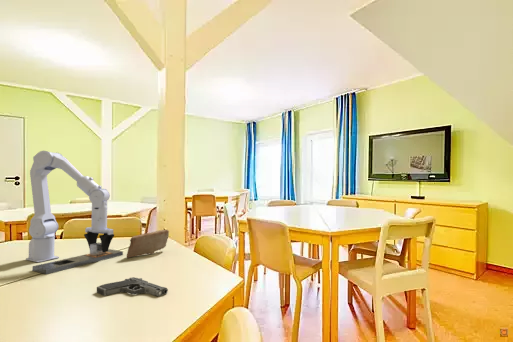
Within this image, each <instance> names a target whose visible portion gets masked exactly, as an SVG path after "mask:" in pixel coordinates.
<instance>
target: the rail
mask: <svg viewBox="0 0 513 342" xmlns="http://www.w3.org/2000/svg"><path fill="white" fill-rule="evenodd" d="M123 255H124V251H121V250H116V249H110V248H109V249H108V251H107V252H105V254H104V255H100V256H93V255H90V253H87V254H86V253H85V254H82V255H77V256H72V257H69V258H63V259H59V260H56V261H50V262H46V263H41V264H37V265H33V266H32V269H31V270H32V272H37V273H40V274H44V275H49V274H53V273H57V272H60V271H65V270H68V269H73V268H76V267H77V268H78V267H80V266H84V265H89V264H93V263H96V262H101V261H105V260H108V259H112V258H116V257H121V256H123Z"/></svg>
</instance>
